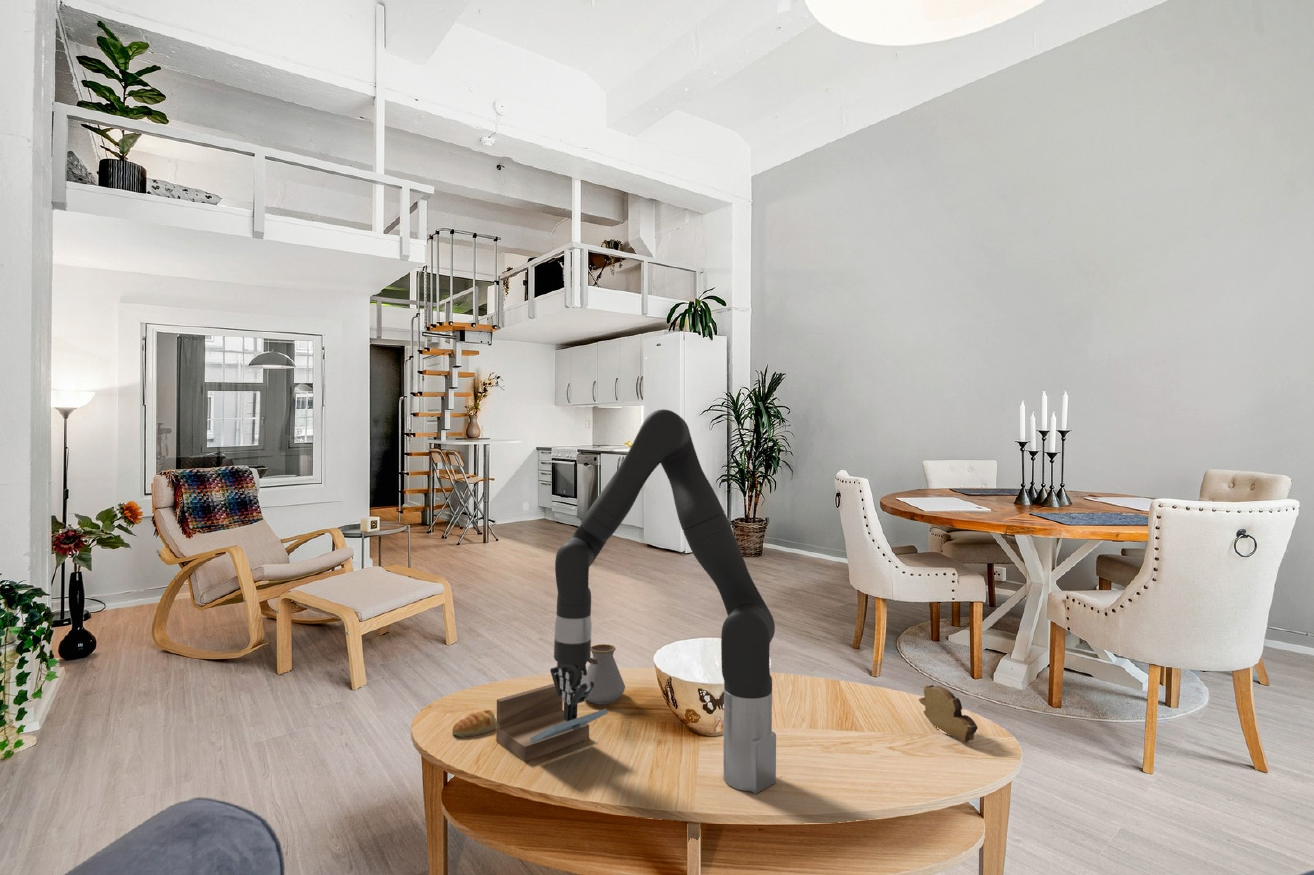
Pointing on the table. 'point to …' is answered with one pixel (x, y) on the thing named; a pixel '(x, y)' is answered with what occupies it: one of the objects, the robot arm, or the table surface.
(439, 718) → the table surface
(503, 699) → the brown wooden l-shaped piece
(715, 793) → the table surface
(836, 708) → the table surface
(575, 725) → the light blue flat panel
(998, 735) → the table surface
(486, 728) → the pastry
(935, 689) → the wooden carving
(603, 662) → the coffee pot
